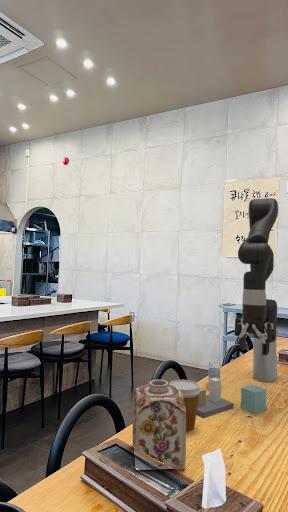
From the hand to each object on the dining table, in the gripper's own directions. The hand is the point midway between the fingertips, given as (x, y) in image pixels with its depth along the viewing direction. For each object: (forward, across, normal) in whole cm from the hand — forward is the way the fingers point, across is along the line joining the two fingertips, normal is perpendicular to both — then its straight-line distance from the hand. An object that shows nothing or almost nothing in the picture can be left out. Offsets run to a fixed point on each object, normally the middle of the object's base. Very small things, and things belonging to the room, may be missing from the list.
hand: (253, 352), depth 113 cm
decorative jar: (+19, -6, +44) cm, 48 cm away
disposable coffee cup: (+19, +3, +28) cm, 34 cm away
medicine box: (+18, +21, -4) cm, 28 cm away
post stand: (+18, +9, +12) cm, 24 cm away
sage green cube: (+18, 0, 0) cm, 18 cm away
